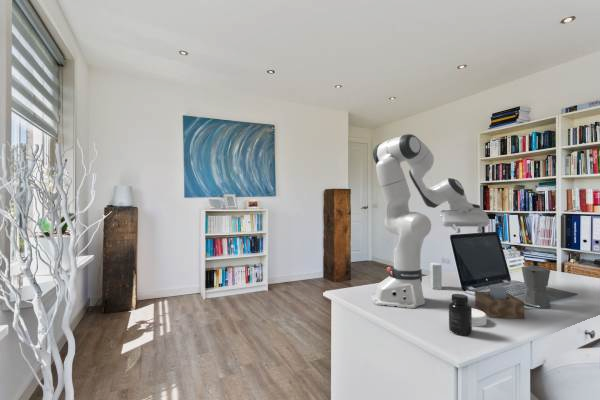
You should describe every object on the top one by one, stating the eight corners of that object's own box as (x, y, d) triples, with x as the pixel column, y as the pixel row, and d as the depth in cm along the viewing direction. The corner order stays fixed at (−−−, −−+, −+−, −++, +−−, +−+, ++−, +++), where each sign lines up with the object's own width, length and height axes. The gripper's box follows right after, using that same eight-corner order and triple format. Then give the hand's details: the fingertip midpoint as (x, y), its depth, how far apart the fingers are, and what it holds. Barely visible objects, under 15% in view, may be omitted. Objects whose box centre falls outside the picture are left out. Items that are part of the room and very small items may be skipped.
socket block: (489, 317, 113) (488, 301, 113) (475, 306, 125) (475, 291, 125) (524, 318, 111) (524, 302, 111) (507, 307, 123) (506, 292, 123)
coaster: (458, 325, 107) (458, 315, 107) (452, 315, 116) (452, 306, 116) (490, 328, 104) (490, 318, 104) (481, 317, 114) (481, 308, 114)
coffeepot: (549, 312, 117) (548, 265, 117) (519, 306, 124) (518, 262, 124) (552, 302, 128) (552, 259, 128) (525, 297, 135) (524, 256, 135)
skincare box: (442, 289, 148) (441, 265, 148) (432, 289, 149) (432, 264, 149) (439, 286, 154) (438, 262, 154) (430, 285, 155) (429, 262, 155)
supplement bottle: (476, 335, 98) (476, 298, 98) (456, 336, 98) (456, 299, 98) (463, 326, 105) (463, 292, 105) (444, 327, 104) (444, 292, 104)
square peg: (495, 311, 116) (494, 287, 116) (490, 307, 120) (489, 284, 120) (506, 311, 116) (506, 287, 116) (501, 307, 120) (500, 285, 120)
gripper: (440, 206, 149) (446, 227, 140) (485, 205, 146) (495, 227, 137) (437, 214, 154) (444, 236, 144) (481, 214, 151) (490, 236, 141)
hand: (469, 232), depth 140 cm, fingers open, 8 cm apart
